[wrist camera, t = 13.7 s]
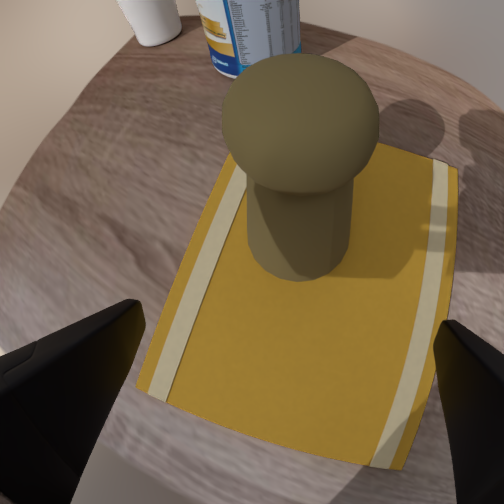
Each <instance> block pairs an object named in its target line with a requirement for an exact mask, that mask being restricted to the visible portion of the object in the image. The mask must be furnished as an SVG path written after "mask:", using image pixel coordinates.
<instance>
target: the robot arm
mask: <svg viewBox="0 0 504 504" xmlns="http://www.w3.org/2000/svg"><path fill="white" fill-rule="evenodd" d="M145 327H146V322H145V317H144V313H143V309H142V304H141V302H140V301H139V300H134V299H126V300H123V301H121V302H119V303H117V304H115V305H113V306H110V307H108V308H106V309H104V310H102V311H99V312H97V313H95V314H93V315H91V316H89V317H86V318H84V319H82V320H80V321H78V322H76V323H73V324H71V325H69V326H67V327H65V328H63V329H60V330H58V331H56V332H54V333H52V334H50V335H47V336H45V337H43V338H41V339H39V340H38V341H34V342H32V343H30V344H28V345H26V346H24V347H21V348H19V349H17V350H15V351H12V352H10V353H7V354H5V355H2V356H0V504H70V503H71V501H72V498H73V496H74V493H75V491H76V488H77V486H78V483H79V481H80V478H81V476H82V473H83V471H84V468H85V466H86V464H87V462H88V459H89V457H90V455H91V453H92V450H93V448H94V446H95V443H96V441H97V439H98V437H99V435H100V432H101V430H102V428H103V426H104V424H105V421H106V419H107V417H108V415H109V413H110V411H111V408H112V406H113V404H114V402H115V400H116V398H117V396H118V394H119V392H120V389H121V387H122V385H123V383H124V381H125V379H126V377H127V375H128V373H129V371H130V369H131V366H132V364H133V361H134V358H135V355H136V353H137V350H138V347H139V344H140V342H141V339H142V336H143V334H144V331H145ZM433 352H434V359H435V365H436V372H437V380H438V387H439V393H440V398H441V403H442V407H443V412H444V417H445V422H446V427H447V432H448V438H449V444H450V450H451V457H452V464H453V471H454V479H455V489H456V499H457V504H504V354H502V353H501V352H500V351H498V350H497V349H495V348H494V347H493V346H491V345H490V344H489V343H487V342H486V341H484V340H483V339H482V338H480V337H479V336H477V335H476V334H474V333H473V332H472V331H470V330H469V329H467V328H466V327H465V326H463V325H462V324H460V323H459V322H457V321H456V320H443V321H442V322H441V324H440V326H439V329H438V332H437V334H436V337H435V339H434V343H433Z"/></svg>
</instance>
